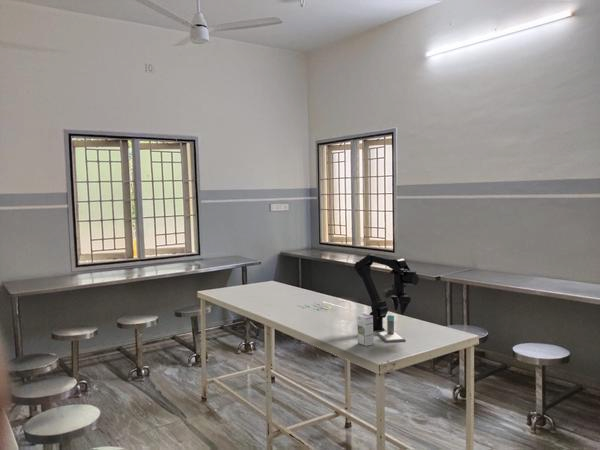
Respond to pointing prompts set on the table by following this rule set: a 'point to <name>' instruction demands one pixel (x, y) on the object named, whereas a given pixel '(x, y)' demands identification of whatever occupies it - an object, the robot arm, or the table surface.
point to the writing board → (391, 337)
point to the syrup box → (365, 329)
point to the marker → (390, 324)
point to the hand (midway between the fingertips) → (399, 312)
